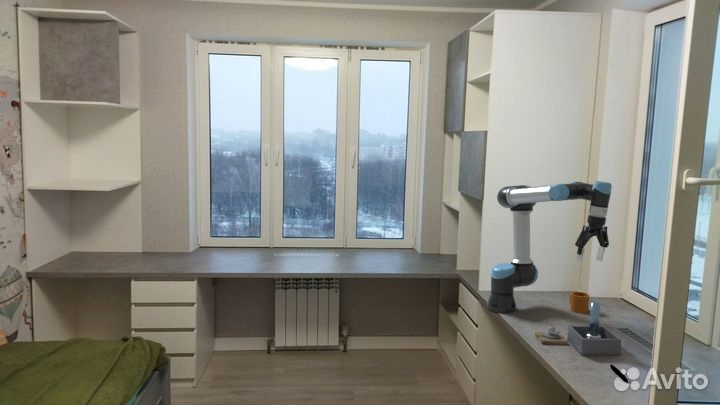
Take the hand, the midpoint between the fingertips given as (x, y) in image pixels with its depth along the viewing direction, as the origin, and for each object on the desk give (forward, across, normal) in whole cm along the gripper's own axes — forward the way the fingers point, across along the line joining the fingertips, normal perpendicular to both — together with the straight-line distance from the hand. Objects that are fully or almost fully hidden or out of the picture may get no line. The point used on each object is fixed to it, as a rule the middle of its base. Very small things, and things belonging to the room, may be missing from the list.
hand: (589, 261), depth 239 cm
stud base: (+35, -19, -2) cm, 40 cm away
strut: (+32, -10, -17) cm, 38 cm away
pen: (+33, -23, -38) cm, 56 cm away
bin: (+34, -10, -17) cm, 39 cm away
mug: (+34, +26, +21) cm, 48 cm away
